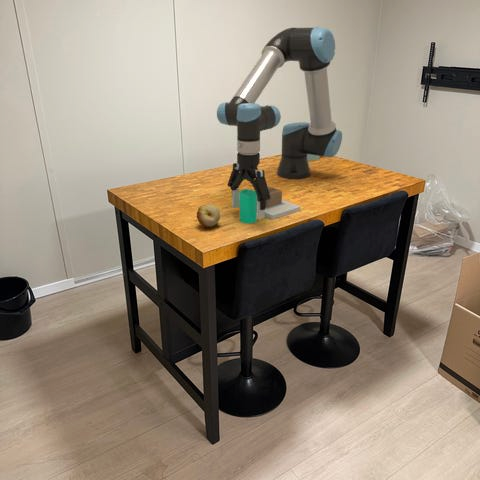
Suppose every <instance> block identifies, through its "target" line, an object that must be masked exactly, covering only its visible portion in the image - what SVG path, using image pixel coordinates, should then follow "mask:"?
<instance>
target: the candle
mask: <svg viewBox="0 0 480 480" xmlns="http://www.w3.org/2000/svg"><path fill="white" fill-rule="evenodd" d="M257 220H258V219H257V194H256V192H255V190H254V189H250V188H249V187H247V188H246V189H241V190H240V207H239V222H241V223H243V224H254V223H256V222H257Z"/></svg>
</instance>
